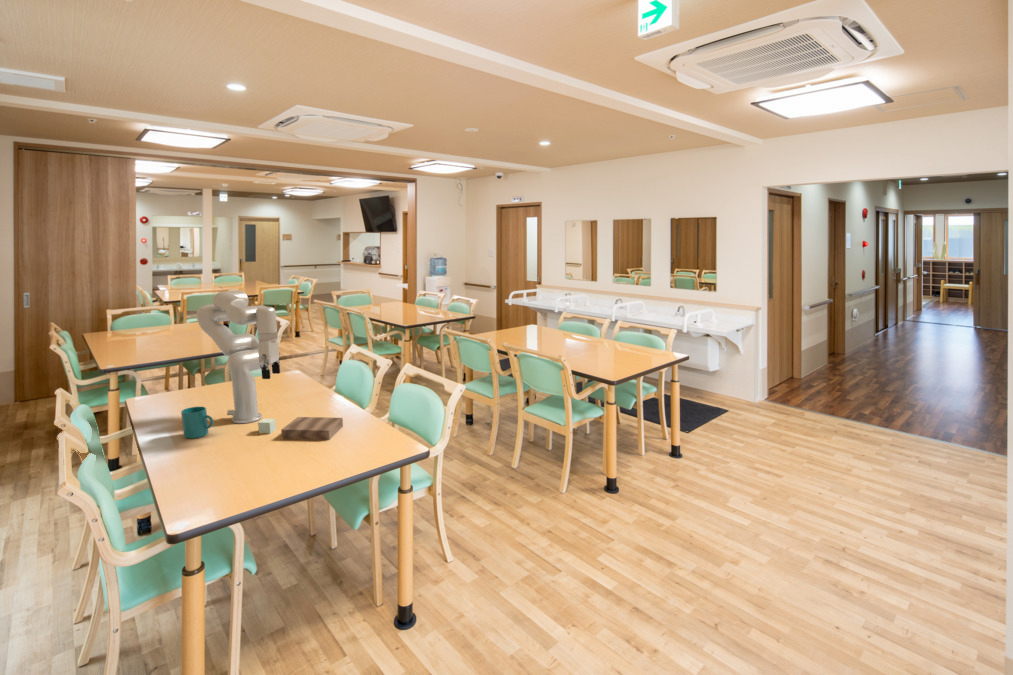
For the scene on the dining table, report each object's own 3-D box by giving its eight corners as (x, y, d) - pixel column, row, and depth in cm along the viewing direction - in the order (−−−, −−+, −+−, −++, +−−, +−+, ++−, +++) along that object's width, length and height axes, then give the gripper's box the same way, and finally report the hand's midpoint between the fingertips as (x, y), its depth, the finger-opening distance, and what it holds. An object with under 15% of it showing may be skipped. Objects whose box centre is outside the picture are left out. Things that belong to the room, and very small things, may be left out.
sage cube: (259, 433, 227) (258, 422, 226) (264, 429, 232) (263, 418, 231) (270, 434, 226) (269, 422, 225) (276, 429, 231) (275, 418, 230)
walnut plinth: (281, 438, 221) (281, 429, 220) (298, 425, 236) (297, 416, 236) (329, 439, 220) (328, 430, 219) (342, 426, 235) (342, 417, 235)
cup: (208, 439, 220) (206, 413, 218) (179, 439, 220) (176, 413, 218) (220, 431, 229) (217, 406, 227) (191, 431, 229) (189, 406, 226)
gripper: (268, 333, 233) (271, 371, 236) (249, 340, 216) (253, 381, 219) (285, 333, 233) (288, 371, 236) (267, 340, 216) (271, 381, 219)
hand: (271, 376), depth 227 cm, fingers open, 9 cm apart
